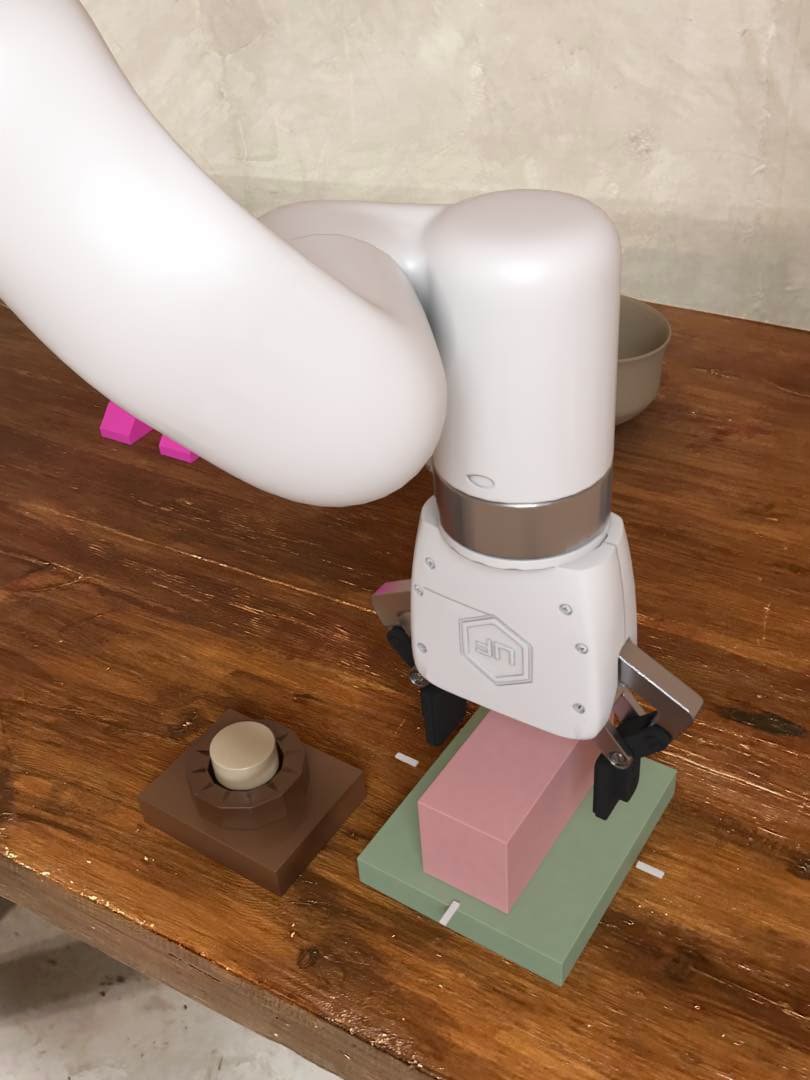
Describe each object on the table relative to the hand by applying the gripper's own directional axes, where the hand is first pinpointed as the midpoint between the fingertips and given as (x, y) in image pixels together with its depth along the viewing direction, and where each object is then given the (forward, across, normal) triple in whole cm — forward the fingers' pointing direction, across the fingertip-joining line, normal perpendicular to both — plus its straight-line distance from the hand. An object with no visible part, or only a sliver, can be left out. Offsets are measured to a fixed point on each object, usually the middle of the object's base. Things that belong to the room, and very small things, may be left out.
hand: (526, 762), depth 58 cm
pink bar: (+4, 0, 0) cm, 4 cm away
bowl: (+6, -16, +41) cm, 44 cm away
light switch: (+6, -14, -6) cm, 17 cm away
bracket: (+6, -48, +26) cm, 55 cm away
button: (+2, -14, -6) cm, 16 cm away
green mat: (+6, 0, 0) cm, 6 cm away
